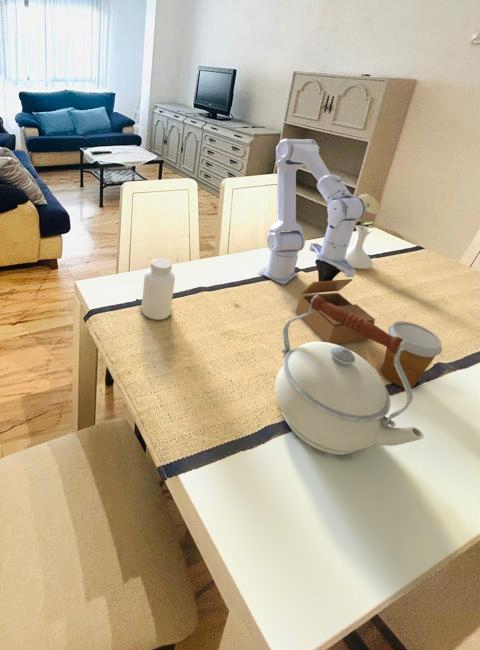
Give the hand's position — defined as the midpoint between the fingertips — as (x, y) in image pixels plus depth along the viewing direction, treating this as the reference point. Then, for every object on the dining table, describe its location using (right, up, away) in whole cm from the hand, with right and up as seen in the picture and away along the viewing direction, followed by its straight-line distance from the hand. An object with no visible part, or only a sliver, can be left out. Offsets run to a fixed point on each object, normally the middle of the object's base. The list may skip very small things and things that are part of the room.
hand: (323, 285), depth 105 cm
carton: (+1, -10, -2) cm, 10 cm away
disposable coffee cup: (+7, -17, -18) cm, 26 cm away
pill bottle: (-46, -7, -1) cm, 46 cm away
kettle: (-16, -21, -31) cm, 41 cm away
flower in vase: (+26, +2, +31) cm, 41 cm away
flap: (0, 0, -1) cm, 1 cm away
